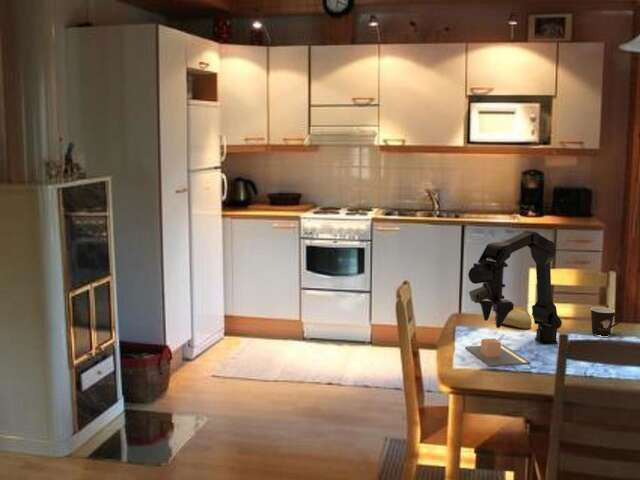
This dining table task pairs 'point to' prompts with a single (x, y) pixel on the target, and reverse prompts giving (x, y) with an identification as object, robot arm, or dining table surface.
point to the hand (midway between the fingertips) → (491, 324)
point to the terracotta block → (490, 347)
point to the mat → (505, 357)
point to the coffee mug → (603, 320)
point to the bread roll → (518, 318)
